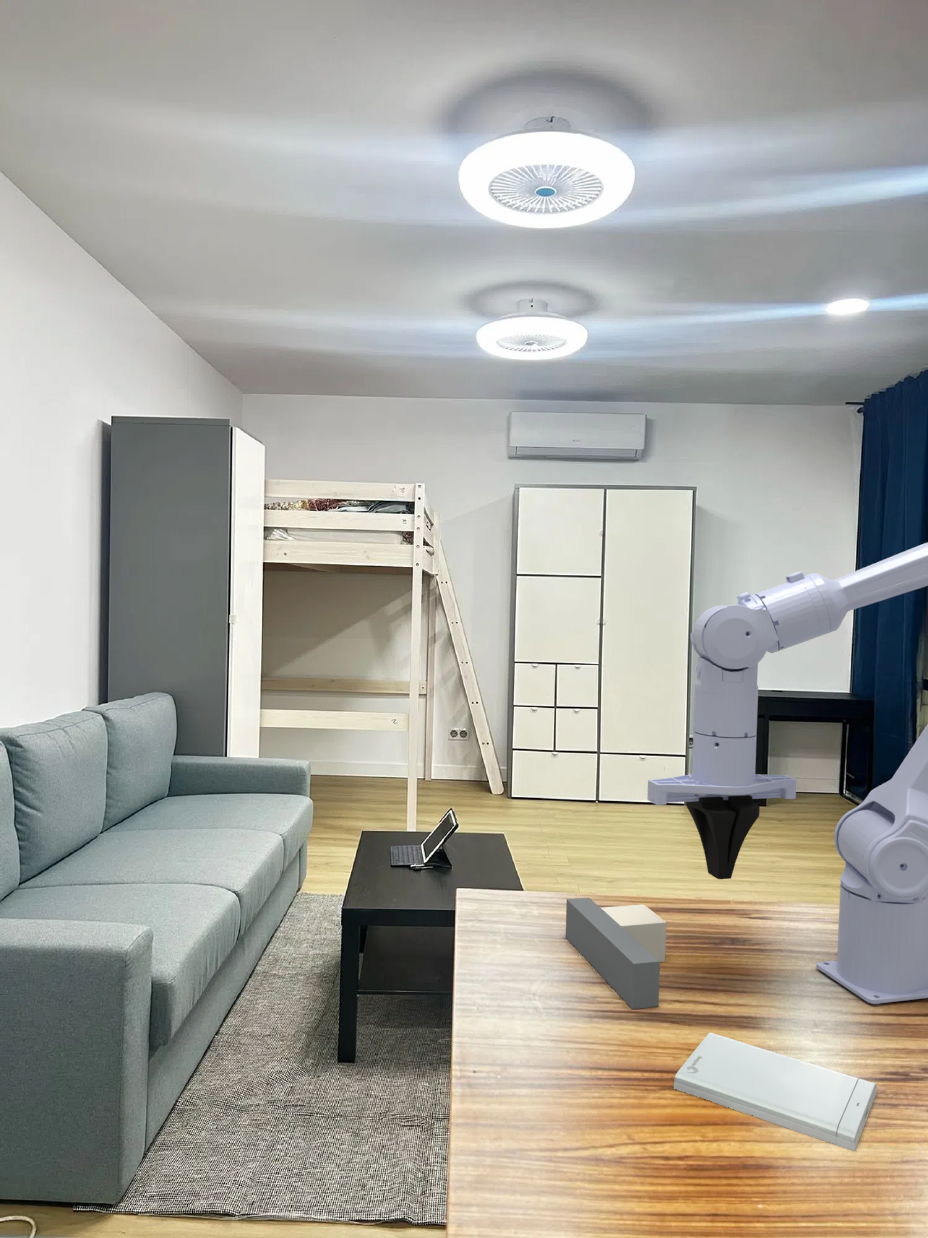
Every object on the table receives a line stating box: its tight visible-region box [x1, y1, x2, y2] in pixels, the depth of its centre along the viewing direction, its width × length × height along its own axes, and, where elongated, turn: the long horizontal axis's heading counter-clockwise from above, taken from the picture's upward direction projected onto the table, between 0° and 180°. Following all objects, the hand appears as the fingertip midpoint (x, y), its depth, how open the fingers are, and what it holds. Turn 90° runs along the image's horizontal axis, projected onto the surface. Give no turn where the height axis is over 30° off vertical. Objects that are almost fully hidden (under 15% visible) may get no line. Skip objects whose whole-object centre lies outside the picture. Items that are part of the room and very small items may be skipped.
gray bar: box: [565, 897, 661, 1010], centre depth 86 cm, size 2×16×4 cm, turn 15°
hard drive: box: [673, 1032, 877, 1152], centre depth 66 cm, size 2×8×12 cm
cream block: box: [600, 904, 667, 963], centre depth 90 cm, size 5×5×4 cm
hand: (719, 875), depth 86 cm, fingers closed
